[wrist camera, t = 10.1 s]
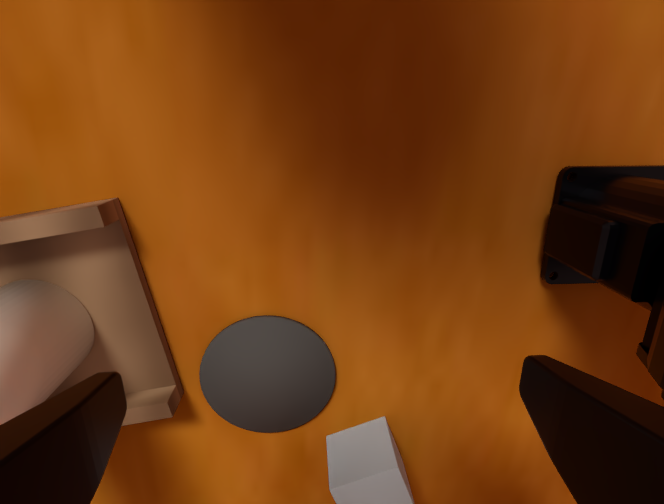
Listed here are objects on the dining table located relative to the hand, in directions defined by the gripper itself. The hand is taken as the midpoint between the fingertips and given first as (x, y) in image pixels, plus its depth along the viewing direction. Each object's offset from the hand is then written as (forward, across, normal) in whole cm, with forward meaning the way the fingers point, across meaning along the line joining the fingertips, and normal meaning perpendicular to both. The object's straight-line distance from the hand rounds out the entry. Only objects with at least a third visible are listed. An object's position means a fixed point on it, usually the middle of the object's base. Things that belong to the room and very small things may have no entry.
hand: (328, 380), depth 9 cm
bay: (+13, +15, +5) cm, 20 cm away
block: (+13, -3, +15) cm, 20 cm away
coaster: (+13, +3, +9) cm, 16 cm away
